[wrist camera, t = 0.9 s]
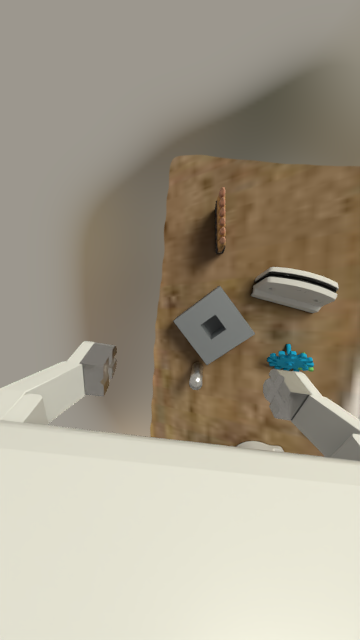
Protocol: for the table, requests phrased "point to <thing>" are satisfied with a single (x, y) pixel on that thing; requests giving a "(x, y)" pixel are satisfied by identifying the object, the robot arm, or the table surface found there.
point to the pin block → (213, 325)
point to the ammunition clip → (220, 222)
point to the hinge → (295, 288)
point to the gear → (290, 360)
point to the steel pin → (196, 376)
